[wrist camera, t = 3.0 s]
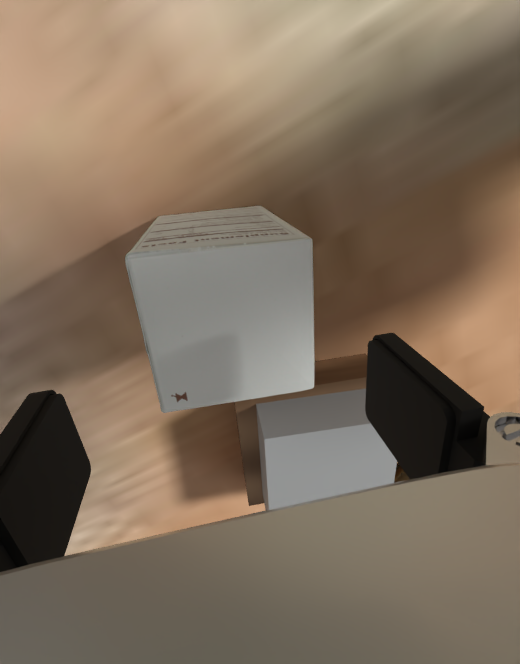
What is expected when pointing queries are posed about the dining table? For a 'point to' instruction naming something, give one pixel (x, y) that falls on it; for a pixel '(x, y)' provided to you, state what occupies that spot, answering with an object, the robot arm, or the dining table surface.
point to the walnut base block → (326, 381)
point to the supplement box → (224, 306)
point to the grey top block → (319, 448)
